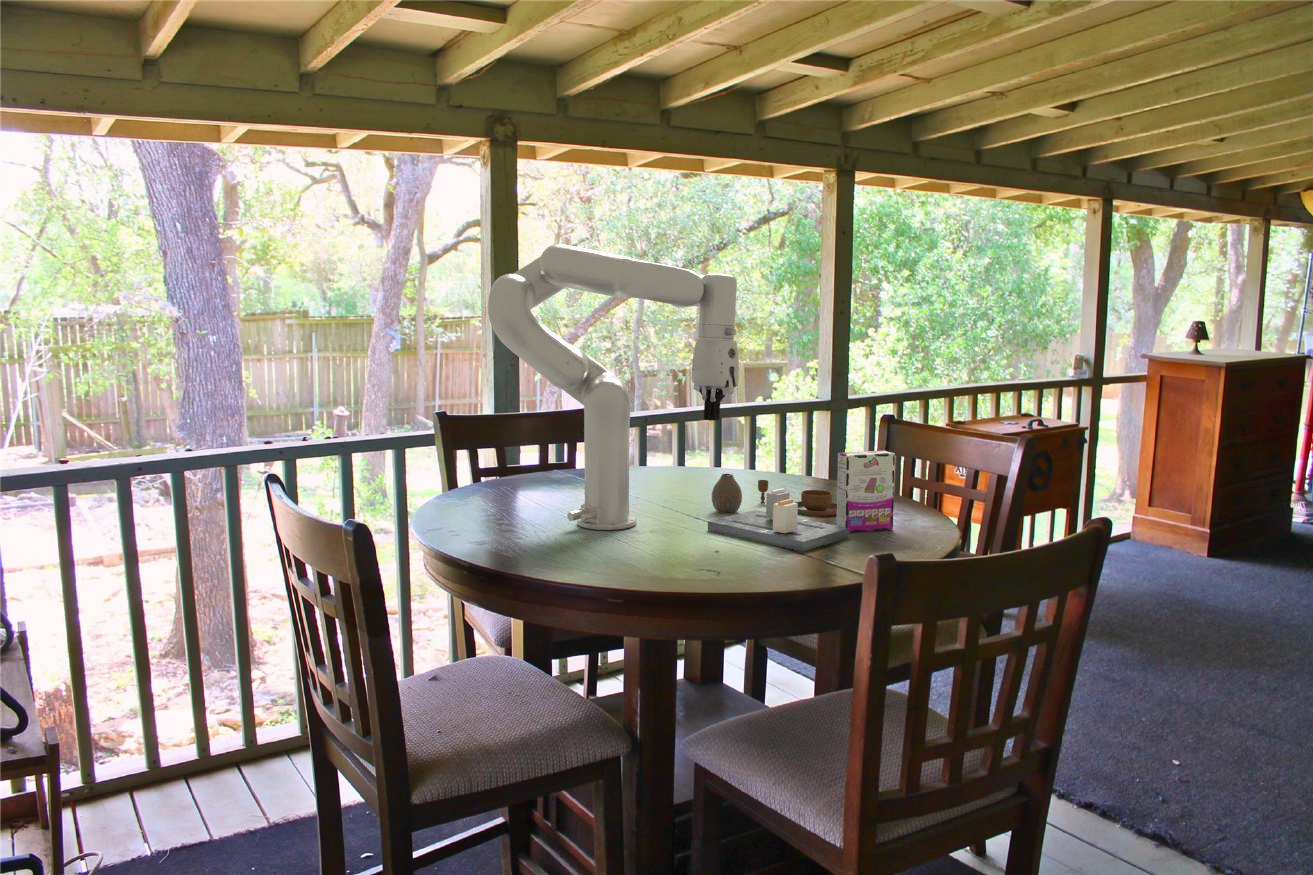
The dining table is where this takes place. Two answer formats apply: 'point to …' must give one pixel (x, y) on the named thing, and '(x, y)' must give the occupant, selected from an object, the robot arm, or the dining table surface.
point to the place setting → (808, 501)
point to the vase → (726, 495)
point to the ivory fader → (785, 516)
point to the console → (761, 530)
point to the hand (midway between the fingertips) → (711, 419)
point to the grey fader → (775, 500)
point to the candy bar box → (865, 490)
